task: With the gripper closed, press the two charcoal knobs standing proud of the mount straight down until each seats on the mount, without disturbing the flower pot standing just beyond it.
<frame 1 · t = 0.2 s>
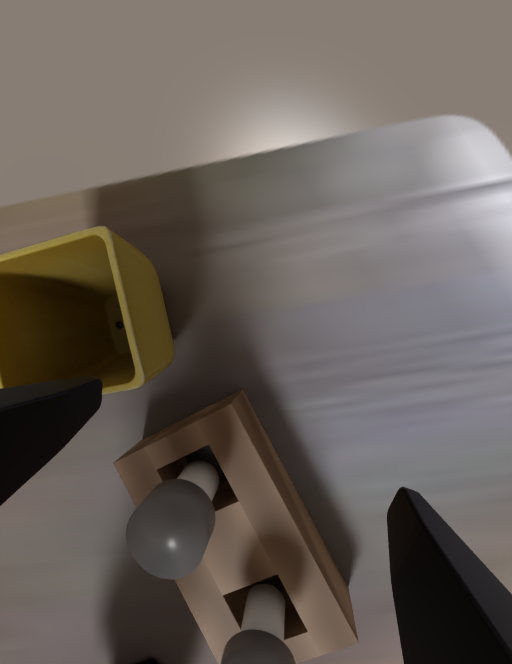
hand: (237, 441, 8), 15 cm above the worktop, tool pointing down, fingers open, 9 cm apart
flower pot: (141, 319, 25), on the worktop
mount: (241, 510, 24), on the worktop
knob 2: (185, 504, 18), point 6 cm above the worktop, slide at 0.0 cm
knob 1: (260, 647, 18), point 6 cm above the worktop, slide at 0.0 cm
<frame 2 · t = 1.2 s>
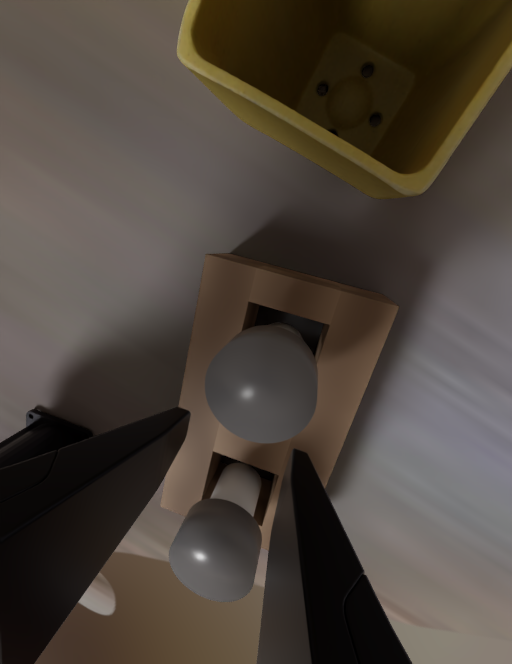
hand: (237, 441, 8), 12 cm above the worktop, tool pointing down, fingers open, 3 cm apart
flower pot: (350, 109, 16), on the worktop
mount: (267, 395, 21), on the worktop
knob 2: (271, 365, 14), point 6 cm above the worktop, slide at 0.0 cm
knob 1: (228, 517, 17), point 6 cm above the worktop, slide at 0.0 cm
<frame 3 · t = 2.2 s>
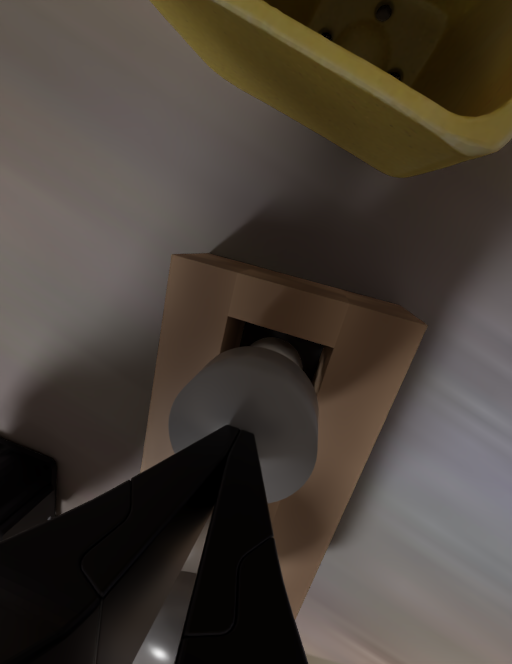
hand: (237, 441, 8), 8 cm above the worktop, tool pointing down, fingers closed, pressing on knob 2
flower pot: (361, 67, 12), on the worktop
mount: (257, 424, 18), on the worktop
knob 2: (259, 394, 11), point 5 cm above the worktop, slide at 0.8 cm, touching gripper
knob 1: (204, 587, 13), point 6 cm above the worktop, slide at 0.0 cm
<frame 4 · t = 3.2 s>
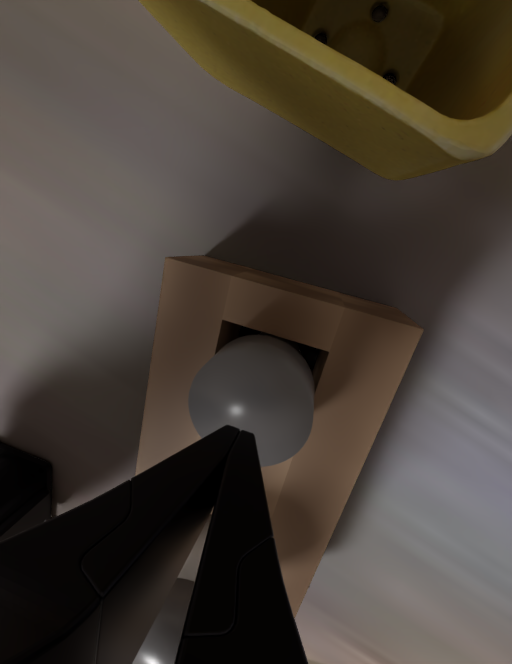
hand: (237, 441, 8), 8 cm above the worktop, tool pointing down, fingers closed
flower pot: (356, 68, 12), on the worktop
mount: (254, 427, 18), on the worktop
knob 2: (263, 377, 13), point 3 cm above the worktop, slide at 2.7 cm
knob 1: (198, 593, 13), point 6 cm above the worktop, slide at 0.0 cm
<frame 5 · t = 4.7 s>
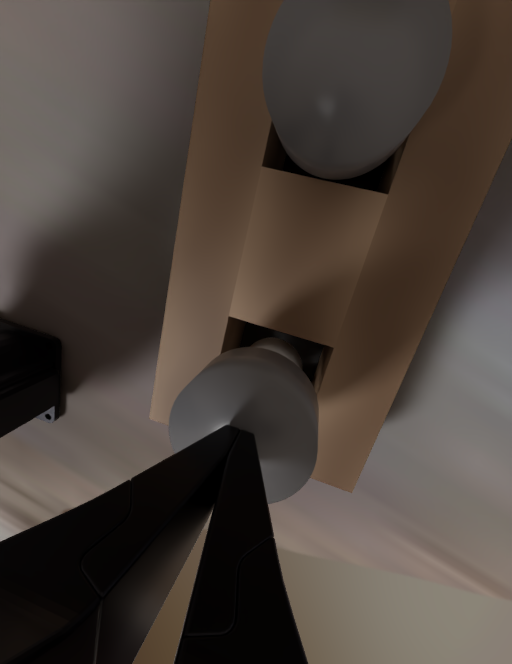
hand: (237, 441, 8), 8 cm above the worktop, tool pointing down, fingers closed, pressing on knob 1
mount: (305, 258, 15), on the worktop
knob 2: (343, 113, 10), point 3 cm above the worktop, slide at 2.7 cm
knob 1: (259, 394, 11), point 5 cm above the worktop, slide at 0.7 cm, touching gripper
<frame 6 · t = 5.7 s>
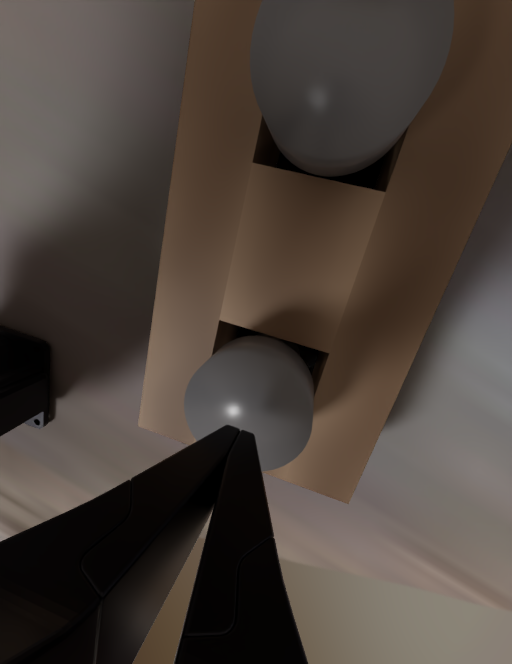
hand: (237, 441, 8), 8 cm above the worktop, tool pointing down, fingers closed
mount: (300, 259, 14), on the worktop
knob 2: (337, 106, 9), point 3 cm above the worktop, slide at 2.7 cm
knob 1: (262, 379, 12), point 3 cm above the worktop, slide at 2.7 cm
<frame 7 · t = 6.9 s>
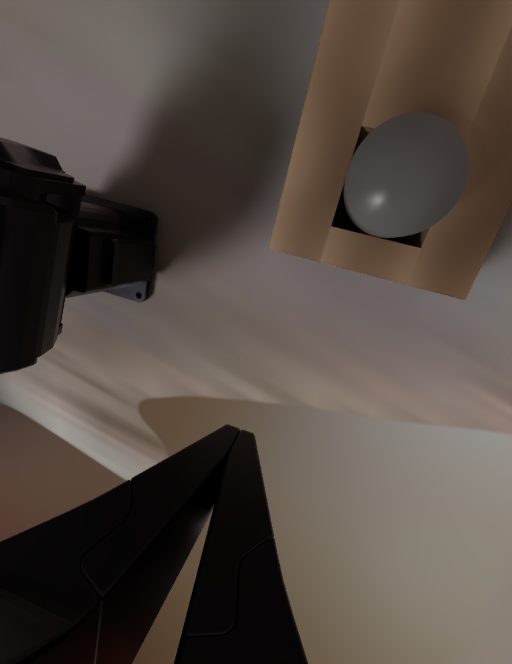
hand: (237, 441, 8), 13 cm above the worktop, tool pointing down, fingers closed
mount: (411, 103, 16), on the worktop
knob 1: (389, 191, 14), point 3 cm above the worktop, slide at 2.7 cm
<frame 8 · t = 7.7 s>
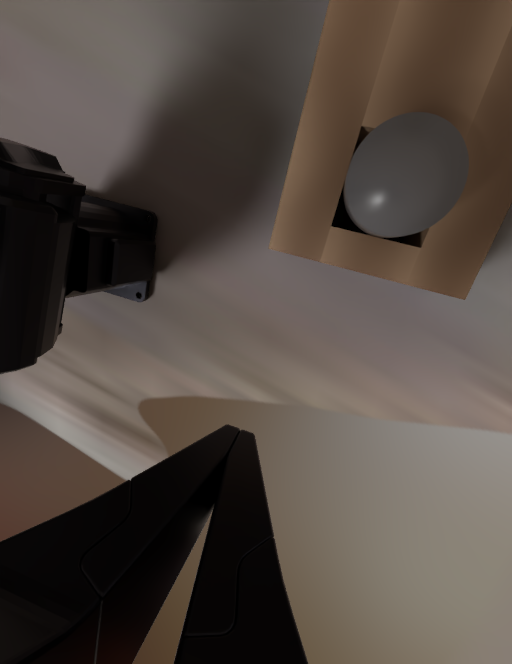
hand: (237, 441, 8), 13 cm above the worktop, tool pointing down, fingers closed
mount: (411, 103, 16), on the worktop
knob 1: (389, 191, 14), point 3 cm above the worktop, slide at 2.7 cm
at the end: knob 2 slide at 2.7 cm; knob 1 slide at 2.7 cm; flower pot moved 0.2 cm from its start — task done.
